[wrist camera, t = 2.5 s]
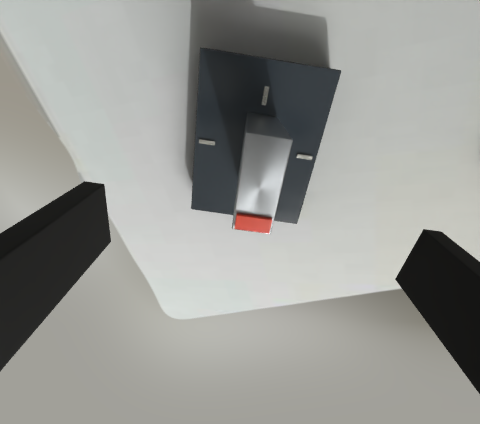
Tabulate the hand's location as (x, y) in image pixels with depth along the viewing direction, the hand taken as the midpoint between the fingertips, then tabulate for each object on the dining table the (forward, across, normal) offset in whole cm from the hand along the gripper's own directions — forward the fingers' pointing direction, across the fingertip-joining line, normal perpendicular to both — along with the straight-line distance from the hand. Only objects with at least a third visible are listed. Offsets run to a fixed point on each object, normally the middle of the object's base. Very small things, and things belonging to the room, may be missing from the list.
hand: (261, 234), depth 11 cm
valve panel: (+17, 0, 0) cm, 17 cm away
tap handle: (+14, 0, 0) cm, 14 cm away
